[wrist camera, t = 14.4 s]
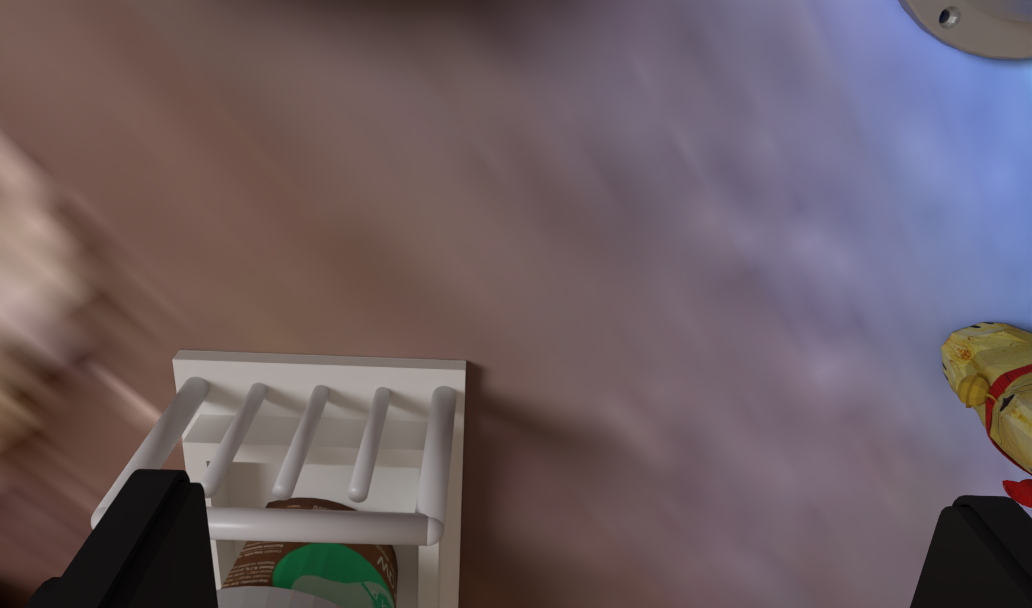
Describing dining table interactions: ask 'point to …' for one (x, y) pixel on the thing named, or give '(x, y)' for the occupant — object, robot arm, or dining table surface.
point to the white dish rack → (322, 456)
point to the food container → (311, 571)
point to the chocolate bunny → (997, 390)
